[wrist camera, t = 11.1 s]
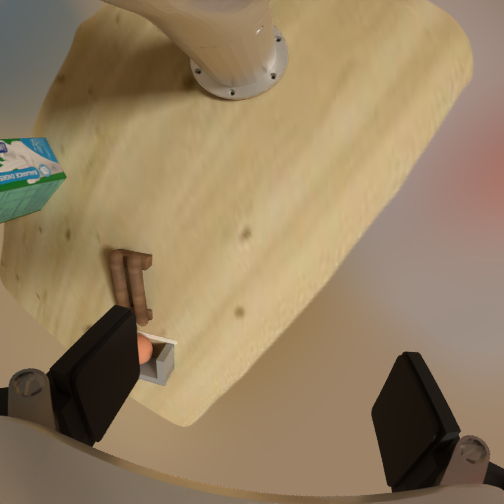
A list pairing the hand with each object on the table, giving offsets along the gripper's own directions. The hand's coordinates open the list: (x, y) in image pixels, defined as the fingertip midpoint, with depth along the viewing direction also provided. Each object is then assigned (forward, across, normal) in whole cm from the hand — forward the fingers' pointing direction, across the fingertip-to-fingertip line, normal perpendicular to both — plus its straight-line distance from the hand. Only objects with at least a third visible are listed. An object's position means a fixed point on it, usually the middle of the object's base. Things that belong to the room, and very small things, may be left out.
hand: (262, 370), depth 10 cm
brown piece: (+30, +20, +14) cm, 39 cm away
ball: (+28, +19, +24) cm, 42 cm away
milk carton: (+31, +40, -2) cm, 50 cm away
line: (+30, +20, +23) cm, 43 cm away
